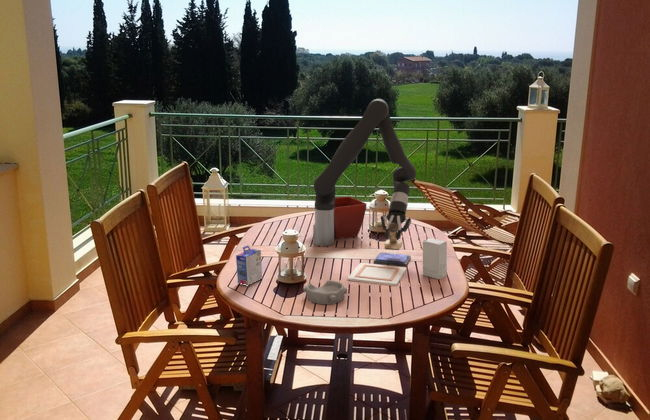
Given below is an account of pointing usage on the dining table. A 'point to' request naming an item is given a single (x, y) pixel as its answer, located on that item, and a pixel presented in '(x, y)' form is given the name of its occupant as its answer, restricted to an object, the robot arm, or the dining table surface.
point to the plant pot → (348, 217)
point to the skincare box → (435, 258)
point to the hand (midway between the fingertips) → (392, 238)
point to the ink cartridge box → (249, 266)
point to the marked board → (377, 274)
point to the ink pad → (392, 259)
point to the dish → (326, 292)
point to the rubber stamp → (393, 238)
